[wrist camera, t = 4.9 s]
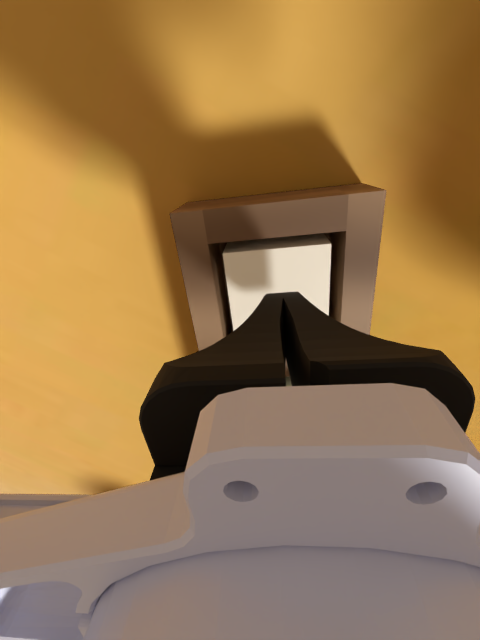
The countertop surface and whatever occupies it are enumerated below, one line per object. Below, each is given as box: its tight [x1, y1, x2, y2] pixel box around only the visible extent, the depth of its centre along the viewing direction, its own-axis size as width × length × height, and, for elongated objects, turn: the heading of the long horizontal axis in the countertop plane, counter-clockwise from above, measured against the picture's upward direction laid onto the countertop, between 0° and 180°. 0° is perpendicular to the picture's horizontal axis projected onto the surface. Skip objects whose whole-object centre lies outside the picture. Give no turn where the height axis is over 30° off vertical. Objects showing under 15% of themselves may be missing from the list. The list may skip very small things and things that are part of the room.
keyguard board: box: [170, 183, 386, 377], centre depth 19 cm, size 29×8×3 cm, turn 6°
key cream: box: [223, 233, 331, 331], centre depth 14 cm, size 4×4×2 cm
